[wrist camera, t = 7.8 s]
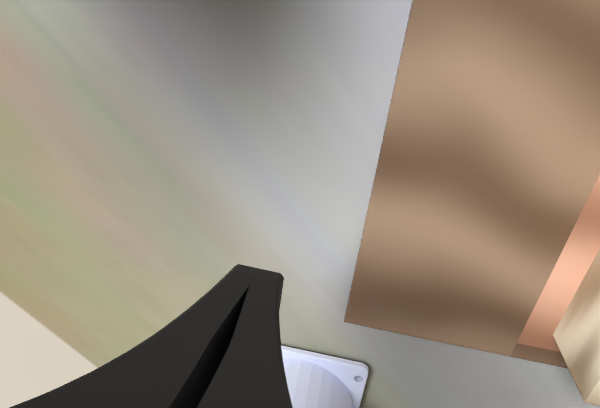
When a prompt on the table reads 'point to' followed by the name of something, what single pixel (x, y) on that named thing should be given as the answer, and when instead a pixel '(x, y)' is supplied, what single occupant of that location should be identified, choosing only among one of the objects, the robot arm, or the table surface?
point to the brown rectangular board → (486, 177)
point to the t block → (583, 335)
